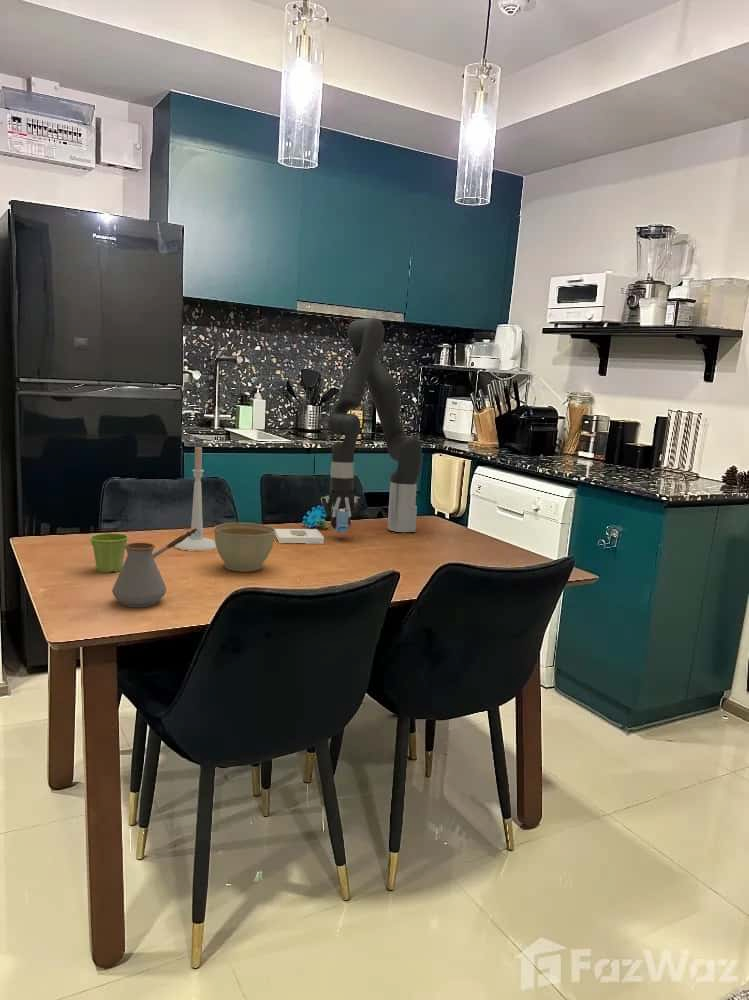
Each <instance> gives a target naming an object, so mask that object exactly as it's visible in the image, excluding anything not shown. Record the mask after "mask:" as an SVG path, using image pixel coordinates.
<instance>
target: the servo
mask: <svg viewBox="0 0 749 1000" xmlns="http://www.w3.org/2000/svg"><path fill="white" fill-rule="evenodd" d="M348 514H349V512H348V511H346V510H345V508H343V507H342V508H341V507H340V508H338V510H337V511H336V529H333V530H334V531H335V532H336V533H340V534H346V533H348V532H349V525H348Z"/></svg>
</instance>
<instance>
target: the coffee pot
mask: <svg viewBox="0 0 749 1000" xmlns="http://www.w3.org/2000/svg"><path fill="white" fill-rule="evenodd" d="M196 531H198V530H197V529H196V528H195V529H193V530H191V529H190V531H187V532H186V533H184V534H182V535H179V536H178V537H177V538H175V539H173V541H171V542H170V543H168V544H167V545H165V546H164V547H162V548H161V549H159V550H157V551H155V552H154V553H153V550H154V549H155V548H156V546H155V544H153V543H149V542H132V543H126V545H125V551H126V553H127V556H126V557H125V560H124V561H123V566H122V569H121V570H120V571H119V574H118V575H117V577H116V578H117V579H116V580H115V582H114V585H113V587H112V589H111V592H112V595H113V597H114V598H115V600H117V601H118V602H120V603H121V605H123V606H125V607H131V608H144V607H145V608H146V607H151V606H154V605H156V604H157V603H158V601H160V600H162V598H163V597H164V596H165V595H166V592H167V587H166V584H165V581H164V579H163V577H162V574H161V572H160V570H159V568H158V566H157V563H156V561H155V558H156V557H158V556H159V555H161V554H163V553H164V552H165V551H167V550H169V549H171V548H173V547H174V546H175V545H177V544H178V543H180V542H182V541H183V540H184V539H186V538H188V537H190V536H191V534H192V533H195V532H196ZM198 532H199V531H198ZM199 534H200V532H199ZM195 535H196V536H198V535H197V534H196V533H195ZM199 536H200V535H199Z"/></svg>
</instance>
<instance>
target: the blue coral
mask: <svg viewBox="0 0 749 1000" xmlns="http://www.w3.org/2000/svg"><path fill="white" fill-rule="evenodd" d="M306 514H307V515H304V516H303V517H302V522H301V524H302V525H303V524H304V525H306V526H308V525H309V526H308V527H307V528H309V527H312V528H313V527H314V528H317V527H318V526H320V525H321V526H323V527H324V528H325V529H326V528H328V529H329V527H328V525H327V521H326V520H325V519H326V518H327V516H328V515H327V514H326V513H325V510H324V508H323V505H322V506H321V505H317V506H314V507H312V508H311V511H310V510H308V511H307V512H306ZM319 524H320V525H319ZM304 525H303V526H304ZM321 526H320V527H321Z"/></svg>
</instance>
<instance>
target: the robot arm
mask: <svg viewBox="0 0 749 1000" xmlns="http://www.w3.org/2000/svg"><path fill="white" fill-rule="evenodd" d="M384 327H385V326H384V325H383V322H382V321H381V319H379V318H378V317H377V318H376V317H367V318H361V319H360V318H359V319H356V320H353V321H351V322H350V324H349V325H348V327H347V339H348V341H349V343H350V347H351V348H352V350H353V353H354V355H355V357H356V360H355V361H354V362H353V364H352V366H351V367H350V369H349V370H348V372H347V373H346V375H345V376H344V380H343V383H342V386H341V390H340V394H339V397H338V400H337V401H336V403H335V405H334V407H333V409H331V410H332V411H330V414H329V416H328V419H327V429H328V431H329V433H331V434H332V435H336V436H344V438H343V440H342V442H341V441H340V442H336V443H334V444H333V445H332V450H331V466H330V479H329V481H330V482H329V483H330V484H329V493H328V495H326V496H321V497H320V502H321V505H322V506H323V508H324V510H325V513H324V514H326V515H327V516H329V517H330V526H331V527H332V528H333V530H334V529H336V511H337V510H338V509H339V508H341V507H342V508H343V509H345V510H346V511H348V512H349V514H348V525H349V527H351V517H353V516H356V515H357V513H358V511H359V508H360V506H361V504H362V501H363V498H361V497H360V496H356V495H355V493H354V487H355V486H354V484H355V482H354V481H355V462H354V461H355V460H354V459H355V448H356V444H357V441H358V437H359V434H360V431H361V424H362V423H361V420H360V418H359V416H358V415H357V414H356V413H349V412H350V411H352V410H355V409H358V408H359V407H360V406H361V403H362V399H363V396H364V395H363V394H364V393H365V391H364V390H365V386H366V384H367V387H368V391H369V395H370V397H371V401H372V402H373V405H374V407H375V410H376V413H377V417H378V419H379V421H380V425H381V428H382V431H383V434H384V439H385V444H386V448H387V452H388V454H389V456H390V458H391V459H392V460H393V461H395V462H397V468H396V470H395V472H392V473H391V475H390V483H389V496H388V497H389V499H388V513H387V514H388V515H387V528H388V529H389V530H392V531H396V532H412V531H413V532H414V531H415V532H416V528H417V527H416V526H417V511H418V506H417V505H416V502H417V501H416V498H417V483H418V478H419V477H420V474H421V473H420V472H421V466H422V457H423V456H422V455H423V448H422V444H421V442H420V441H419V440H418V439H417V438H415V437H411V436H407V435H406V433H405V431H404V428H403V426H402V423H401V402H402V401H401V395H400V392H399V389H398V386H397V383H396V380H395V379H394V377H393V376H392V374H391V373H390V372H389V371H388V370H387V369H386V367H385V366H384V365H383V364H382V363H381V362H380V361H379V360H378V357H377V355H378V352H379V350H380V348H381V346H382V344H383V341H384V337H385V328H384ZM329 500H330V502H331V503H332V505H331V511H330V509H329V505H328V503H329ZM353 500H354V501H353ZM352 501H353V503H354V504H353V506H352V508H351V506H350V504H351V503H352ZM349 527H348V528H349Z"/></svg>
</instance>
